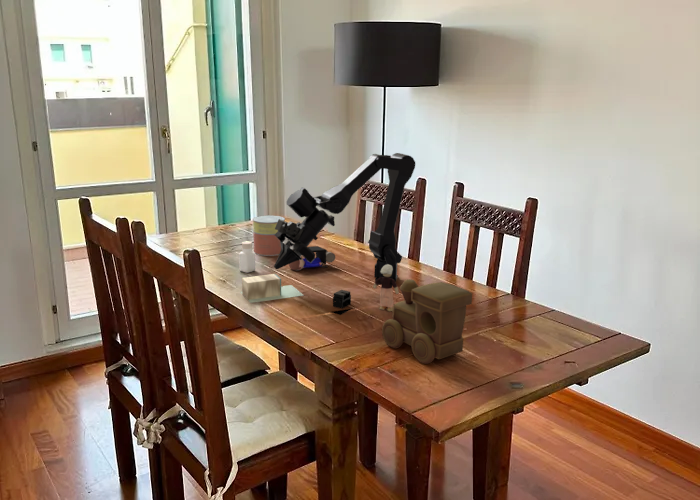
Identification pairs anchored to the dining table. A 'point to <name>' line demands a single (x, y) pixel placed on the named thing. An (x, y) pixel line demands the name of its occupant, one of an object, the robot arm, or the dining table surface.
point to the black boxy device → (341, 301)
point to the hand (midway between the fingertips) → (275, 268)
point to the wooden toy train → (428, 320)
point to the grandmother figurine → (386, 288)
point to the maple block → (261, 286)
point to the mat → (285, 293)
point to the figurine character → (321, 257)
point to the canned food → (266, 235)
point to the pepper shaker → (247, 258)
